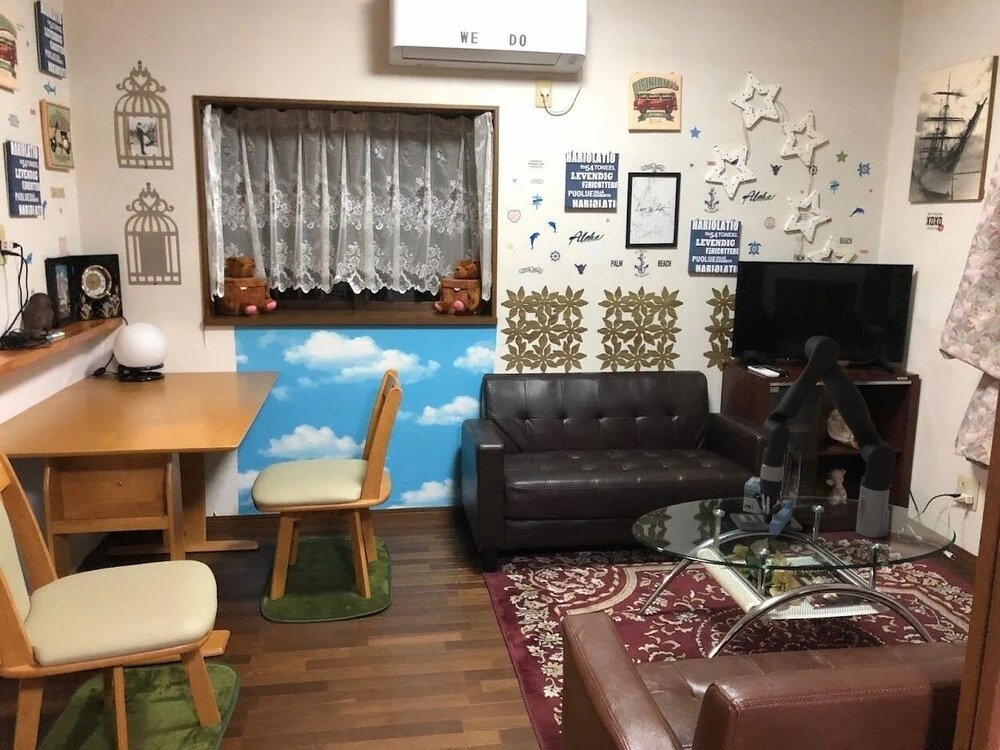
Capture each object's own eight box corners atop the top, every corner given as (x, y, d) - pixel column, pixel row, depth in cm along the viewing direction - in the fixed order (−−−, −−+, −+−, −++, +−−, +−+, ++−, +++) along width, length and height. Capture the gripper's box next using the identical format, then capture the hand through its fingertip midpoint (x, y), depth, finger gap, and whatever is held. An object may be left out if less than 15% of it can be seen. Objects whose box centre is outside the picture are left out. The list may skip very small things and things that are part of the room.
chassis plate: (789, 516, 294) (789, 512, 294) (802, 530, 282) (803, 526, 281) (730, 516, 294) (730, 512, 294) (740, 530, 282) (741, 526, 281)
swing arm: (782, 514, 292) (783, 499, 290) (792, 516, 290) (794, 501, 288) (768, 533, 275) (769, 516, 274) (779, 535, 273) (780, 518, 272)
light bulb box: (760, 515, 296) (762, 487, 294) (742, 511, 300) (744, 484, 297) (768, 506, 305) (770, 479, 303) (750, 502, 309) (752, 476, 306)
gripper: (749, 472, 281) (746, 517, 285) (777, 484, 270) (772, 531, 273) (766, 469, 284) (762, 514, 288) (794, 481, 273) (789, 528, 277)
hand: (767, 523), depth 281 cm, fingers closed
